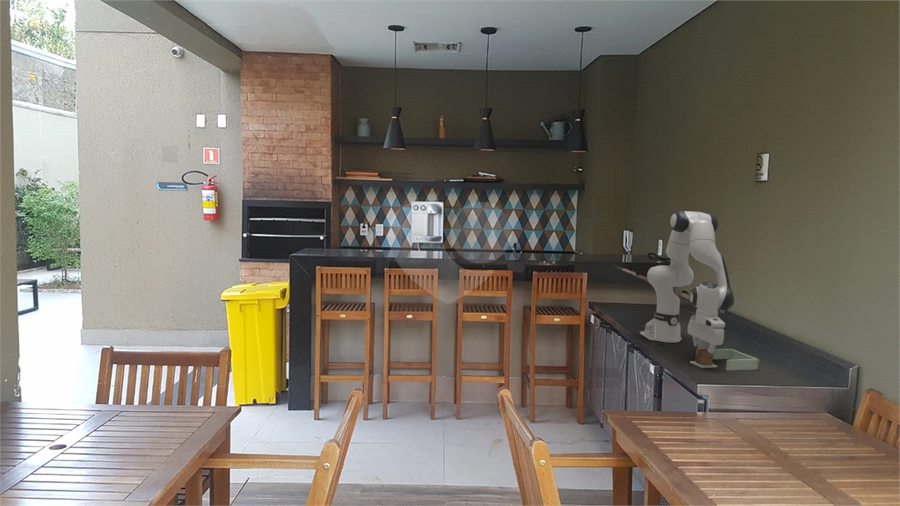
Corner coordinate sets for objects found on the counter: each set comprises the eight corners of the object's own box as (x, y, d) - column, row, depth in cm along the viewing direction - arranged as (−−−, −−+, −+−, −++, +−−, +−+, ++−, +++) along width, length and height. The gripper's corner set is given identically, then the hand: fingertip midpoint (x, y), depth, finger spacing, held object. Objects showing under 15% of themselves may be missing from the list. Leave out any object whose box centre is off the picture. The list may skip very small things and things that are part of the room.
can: (715, 356, 275) (718, 331, 274) (699, 355, 277) (701, 330, 276) (712, 352, 283) (714, 328, 282) (695, 351, 284) (697, 327, 283)
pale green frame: (700, 359, 270) (701, 349, 270) (729, 358, 274) (730, 348, 273) (727, 370, 253) (728, 360, 252) (758, 369, 256) (759, 359, 256)
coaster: (690, 362, 263) (690, 361, 263) (705, 362, 265) (705, 360, 265) (701, 367, 255) (701, 366, 255) (717, 367, 257) (717, 365, 257)
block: (695, 362, 262) (696, 349, 261) (704, 361, 263) (705, 348, 263) (702, 365, 257) (703, 351, 257) (712, 365, 258) (713, 351, 258)
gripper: (685, 313, 268) (682, 343, 269) (715, 324, 248) (711, 356, 250) (697, 313, 269) (694, 343, 271) (728, 324, 249) (724, 356, 251)
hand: (703, 349), depth 260 cm, fingers open, 8 cm apart
